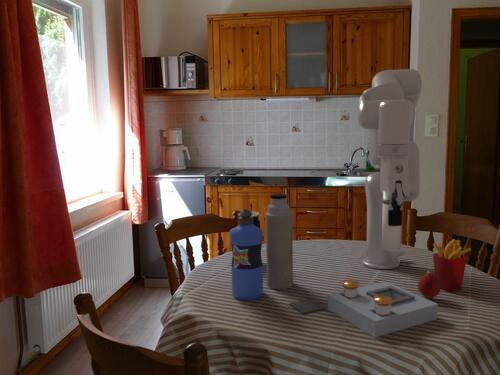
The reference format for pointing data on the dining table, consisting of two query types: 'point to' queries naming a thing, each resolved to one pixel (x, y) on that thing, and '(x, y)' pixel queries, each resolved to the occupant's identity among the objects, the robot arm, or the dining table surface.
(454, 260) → the french fries
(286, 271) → the thermos bottle
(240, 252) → the water bottle
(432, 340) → the dining table surface
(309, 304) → the pad
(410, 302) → the housing
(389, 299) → the plunger
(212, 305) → the dining table surface
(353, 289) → the plunger
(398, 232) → the cartridge
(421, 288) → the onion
